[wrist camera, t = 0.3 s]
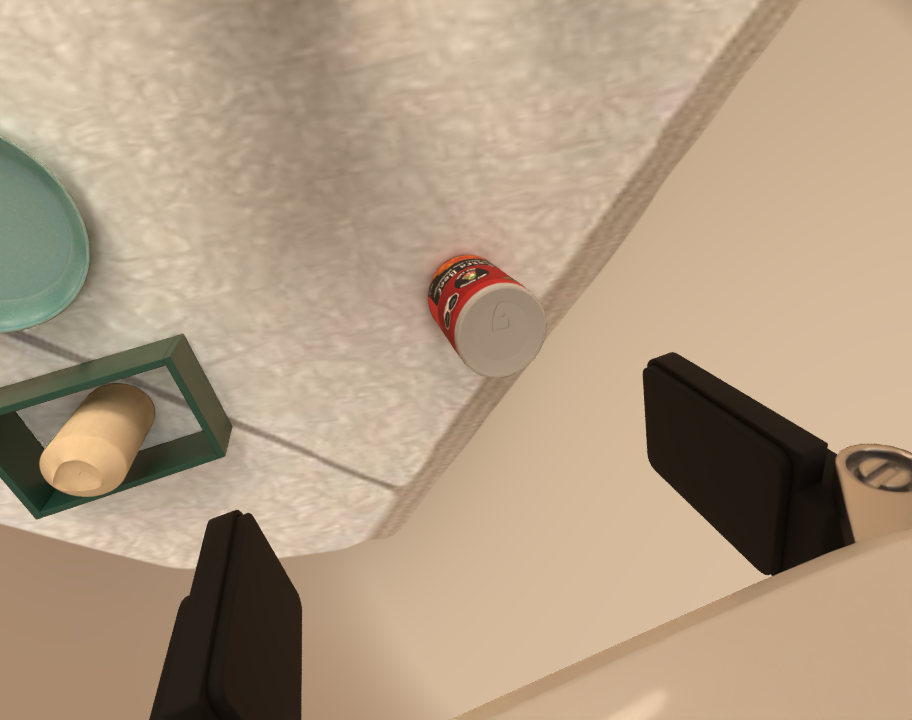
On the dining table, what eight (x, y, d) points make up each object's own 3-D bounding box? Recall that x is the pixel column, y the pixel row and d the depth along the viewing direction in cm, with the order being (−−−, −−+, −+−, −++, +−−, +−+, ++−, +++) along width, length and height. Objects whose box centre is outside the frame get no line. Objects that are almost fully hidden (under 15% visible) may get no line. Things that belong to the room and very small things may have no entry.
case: (-11, 390, 41) (-48, 422, 37) (183, 333, 43) (170, 356, 39) (61, 482, 46) (36, 520, 41) (232, 426, 48) (225, 456, 44)
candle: (99, 442, 45) (50, 517, 36) (73, 389, 43) (14, 457, 34) (164, 429, 46) (132, 499, 38) (143, 377, 44) (103, 439, 35)
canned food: (485, 239, 47) (532, 268, 38) (510, 311, 51) (558, 353, 41) (412, 273, 47) (441, 311, 37) (443, 343, 50) (476, 394, 41)
